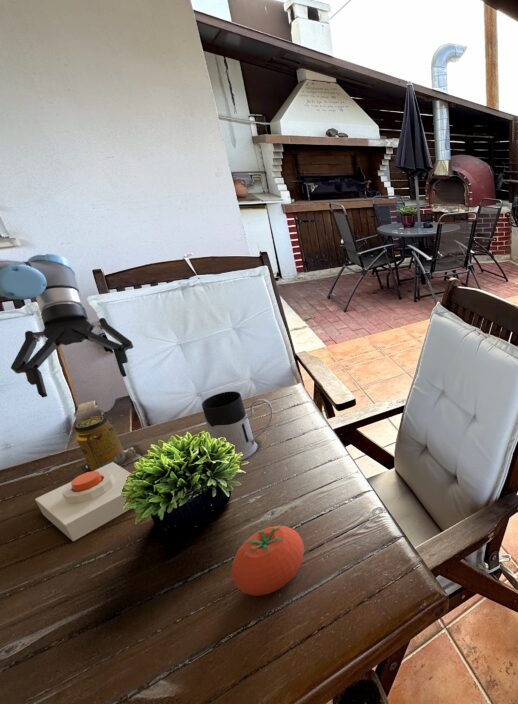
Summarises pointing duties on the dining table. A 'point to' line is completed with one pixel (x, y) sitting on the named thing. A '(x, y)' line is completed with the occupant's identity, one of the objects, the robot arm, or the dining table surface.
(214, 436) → the glass holder
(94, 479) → the button
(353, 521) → the dining table surface
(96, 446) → the condiment
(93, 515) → the white button box
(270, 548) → the tomato
